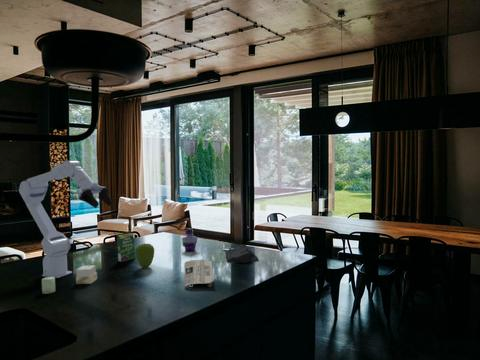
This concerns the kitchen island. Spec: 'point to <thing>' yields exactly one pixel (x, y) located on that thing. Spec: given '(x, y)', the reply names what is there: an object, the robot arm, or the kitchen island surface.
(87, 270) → the tower top block
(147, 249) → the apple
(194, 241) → the potion bottle
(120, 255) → the coffee box
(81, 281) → the tower base block
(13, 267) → the kitchen island surface
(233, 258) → the dark slate chunk
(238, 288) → the kitchen island surface
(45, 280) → the sage cylinder
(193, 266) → the newspaper
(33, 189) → the robot arm
